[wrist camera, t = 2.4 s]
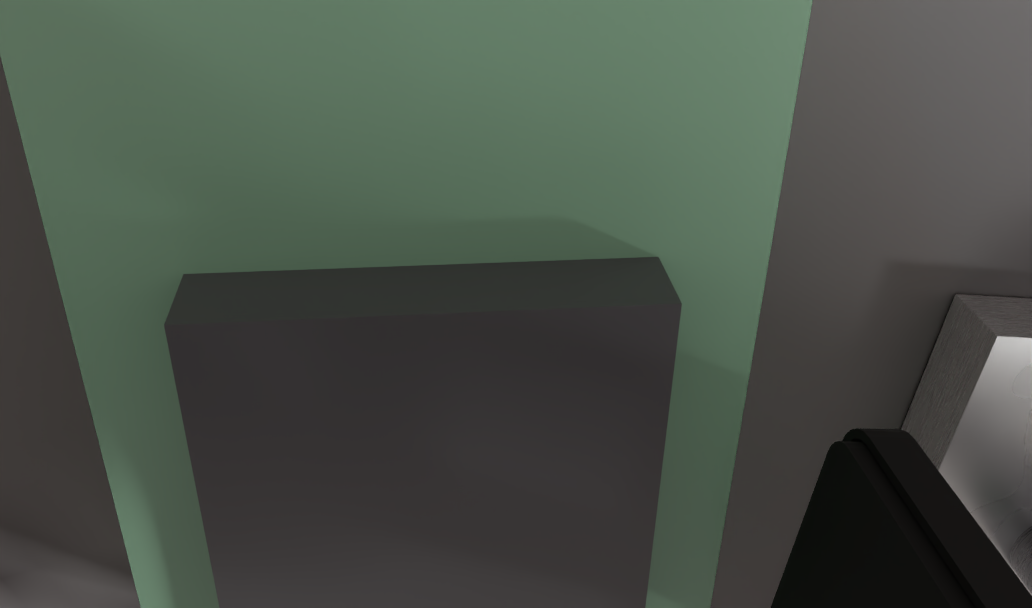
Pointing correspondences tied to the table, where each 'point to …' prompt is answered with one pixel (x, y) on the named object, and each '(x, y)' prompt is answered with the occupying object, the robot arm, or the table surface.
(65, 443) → the table surface
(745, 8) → the module
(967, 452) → the chassis
